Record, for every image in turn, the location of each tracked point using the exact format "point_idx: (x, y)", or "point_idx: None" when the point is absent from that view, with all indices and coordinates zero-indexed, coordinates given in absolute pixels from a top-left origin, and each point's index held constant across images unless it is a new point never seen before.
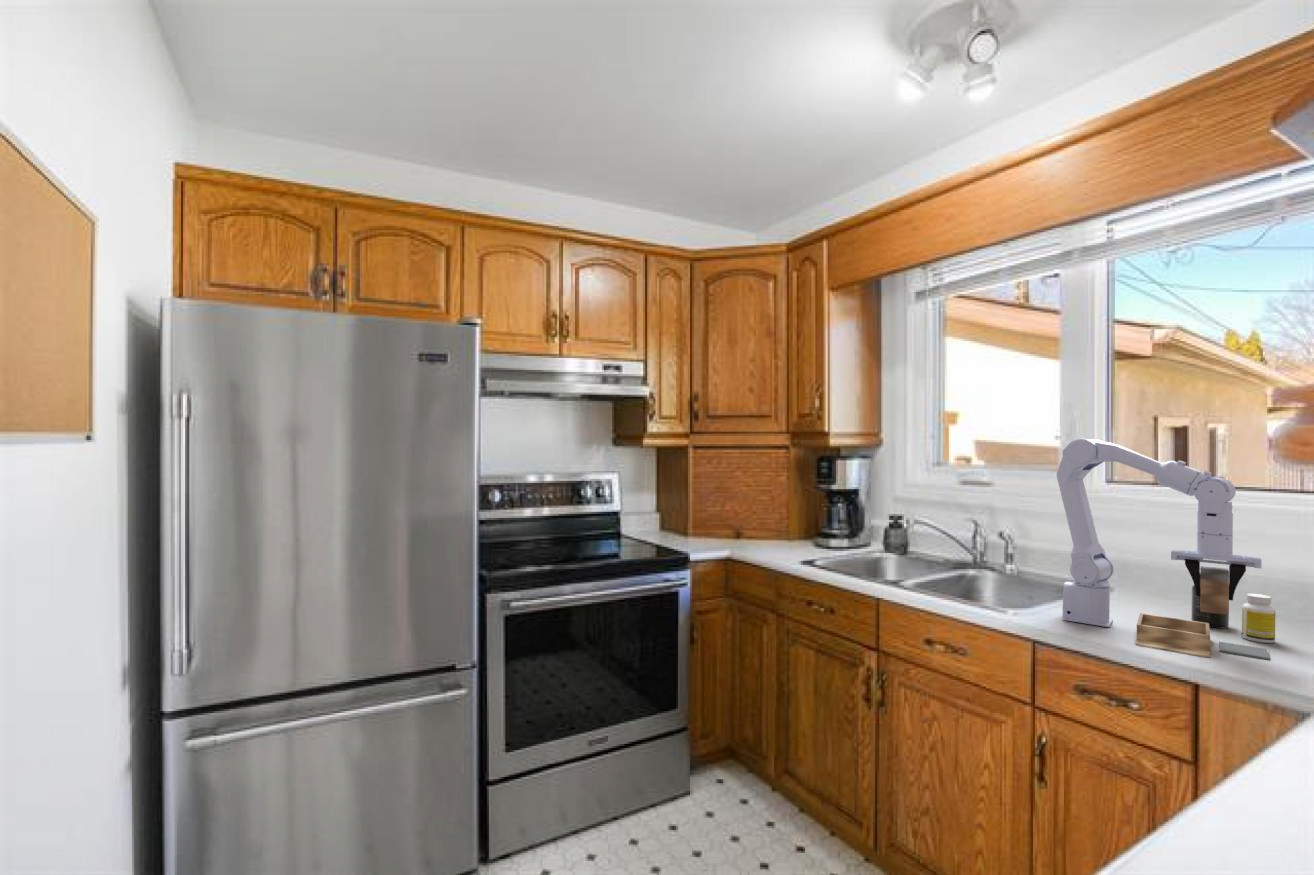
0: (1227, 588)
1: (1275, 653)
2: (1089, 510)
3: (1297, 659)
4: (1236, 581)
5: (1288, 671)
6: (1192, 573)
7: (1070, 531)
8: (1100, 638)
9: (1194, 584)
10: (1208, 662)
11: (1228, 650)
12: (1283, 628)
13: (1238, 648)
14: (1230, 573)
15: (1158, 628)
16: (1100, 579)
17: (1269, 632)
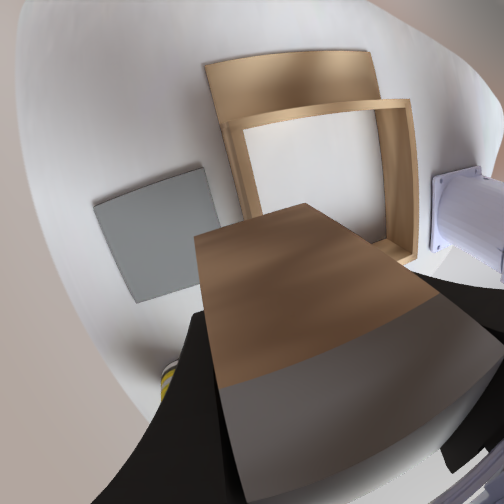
0: (217, 327)
1: (116, 295)
2: None
3: (72, 282)
4: (164, 423)
5: (42, 133)
6: (498, 294)
7: None
8: (420, 63)
9: (419, 276)
10: (197, 19)
11: (185, 184)
12: None
13: (176, 239)
14: (222, 488)
15: (366, 100)
16: None
17: (164, 387)
